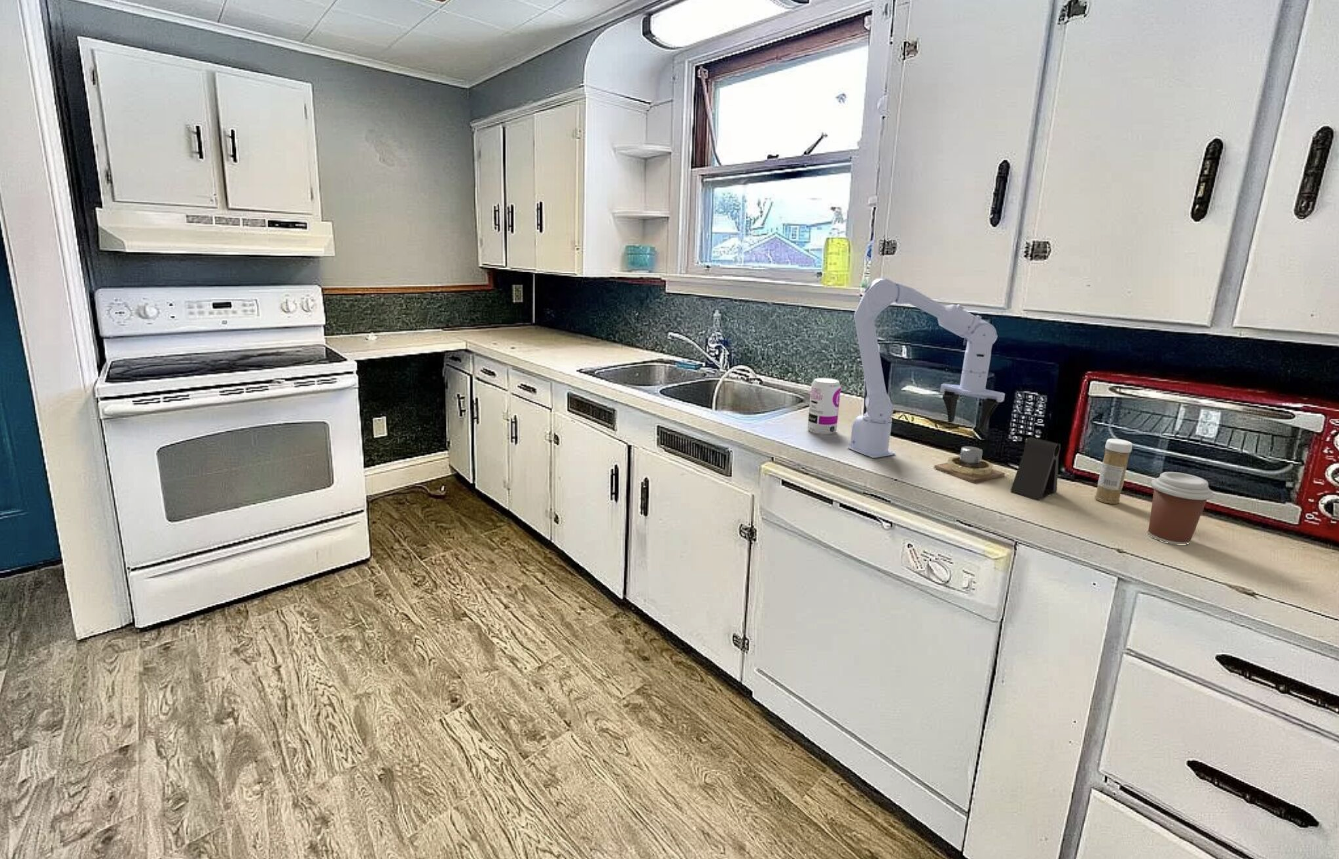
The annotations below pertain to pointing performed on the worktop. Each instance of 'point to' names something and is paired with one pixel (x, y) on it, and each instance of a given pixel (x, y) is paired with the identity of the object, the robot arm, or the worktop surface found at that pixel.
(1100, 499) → the sprinkles bottle
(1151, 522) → the coffee cup
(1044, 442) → the phone stand
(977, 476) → the ring plate
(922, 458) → the worktop surface
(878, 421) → the robot arm
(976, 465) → the cylinder
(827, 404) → the supplement can
